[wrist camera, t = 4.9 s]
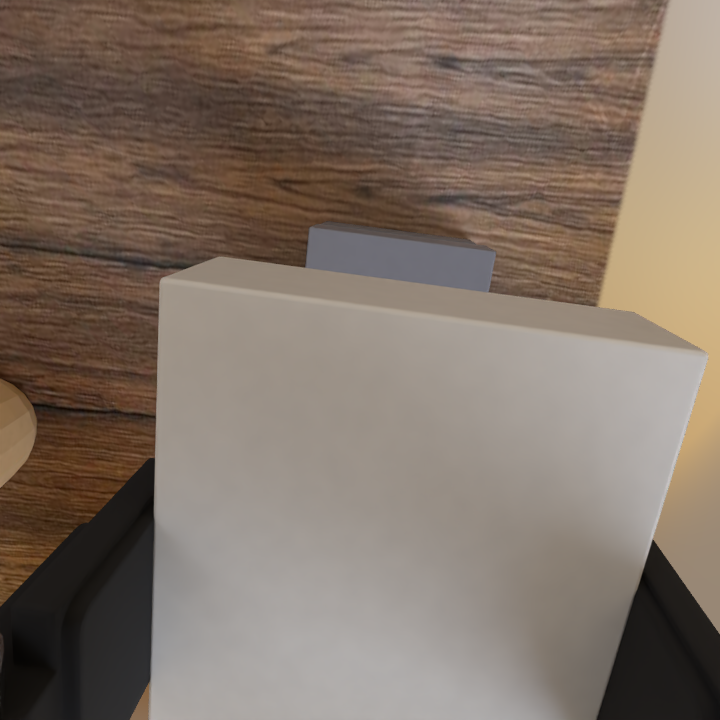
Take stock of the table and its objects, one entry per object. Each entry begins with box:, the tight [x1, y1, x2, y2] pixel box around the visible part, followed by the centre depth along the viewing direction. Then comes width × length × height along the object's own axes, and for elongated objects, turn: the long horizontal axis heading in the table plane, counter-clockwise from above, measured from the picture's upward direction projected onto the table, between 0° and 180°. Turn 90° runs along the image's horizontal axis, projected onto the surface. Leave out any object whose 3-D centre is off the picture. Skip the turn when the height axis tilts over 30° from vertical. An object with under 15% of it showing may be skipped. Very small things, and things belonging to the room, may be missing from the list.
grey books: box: [305, 221, 496, 293], centre depth 24 cm, size 10×7×6 cm, turn 173°
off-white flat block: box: [148, 256, 708, 720], centre depth 10 cm, size 10×7×2 cm
